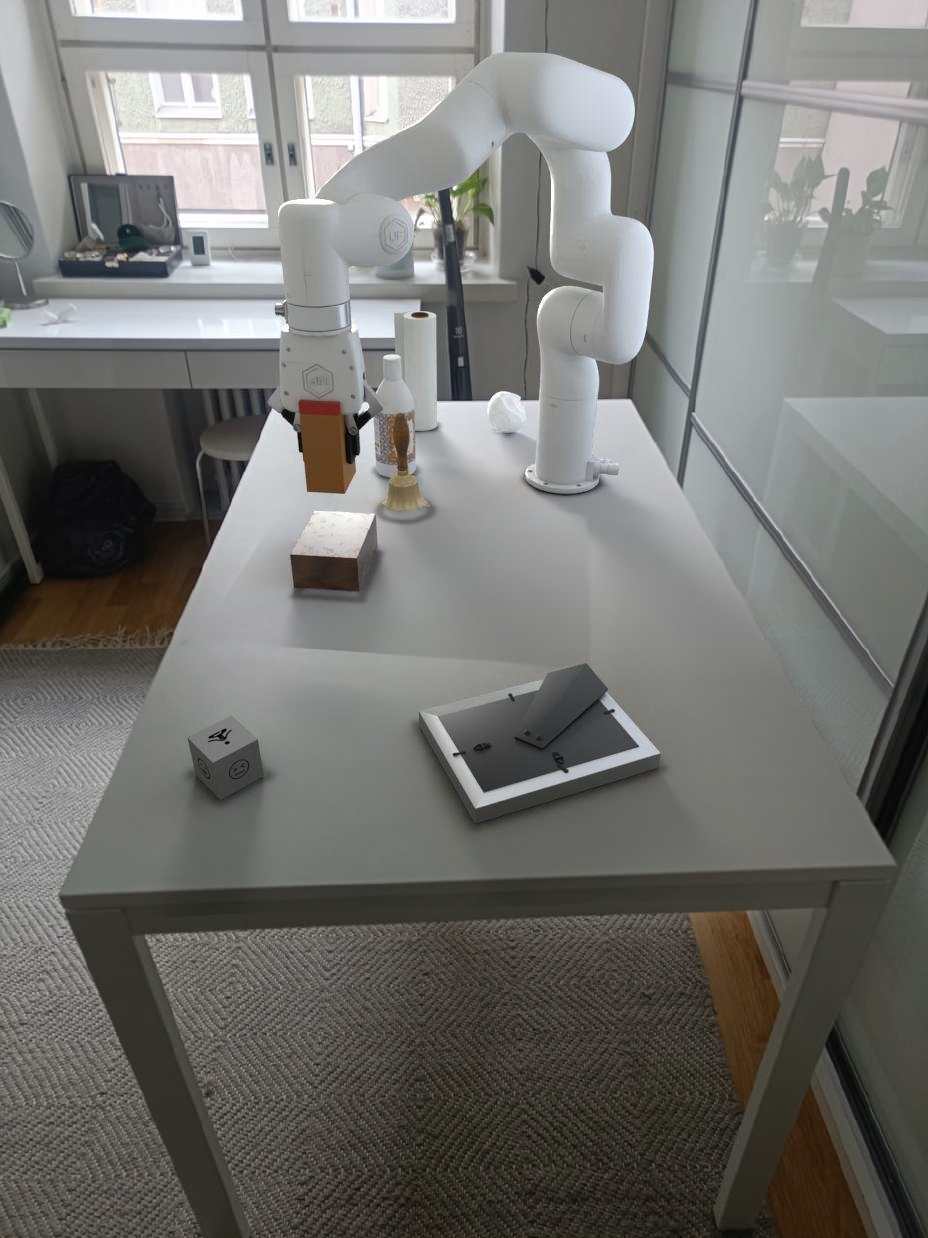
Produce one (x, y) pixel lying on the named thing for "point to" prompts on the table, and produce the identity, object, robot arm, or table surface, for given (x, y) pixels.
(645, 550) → the table surface
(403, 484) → the hand bell
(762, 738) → the table surface
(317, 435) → the container
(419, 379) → the paper towel roll
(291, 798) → the table surface
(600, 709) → the picture frame
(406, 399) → the bath foam
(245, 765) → the dice cube
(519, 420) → the crumpled paper ball
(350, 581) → the walnut box
